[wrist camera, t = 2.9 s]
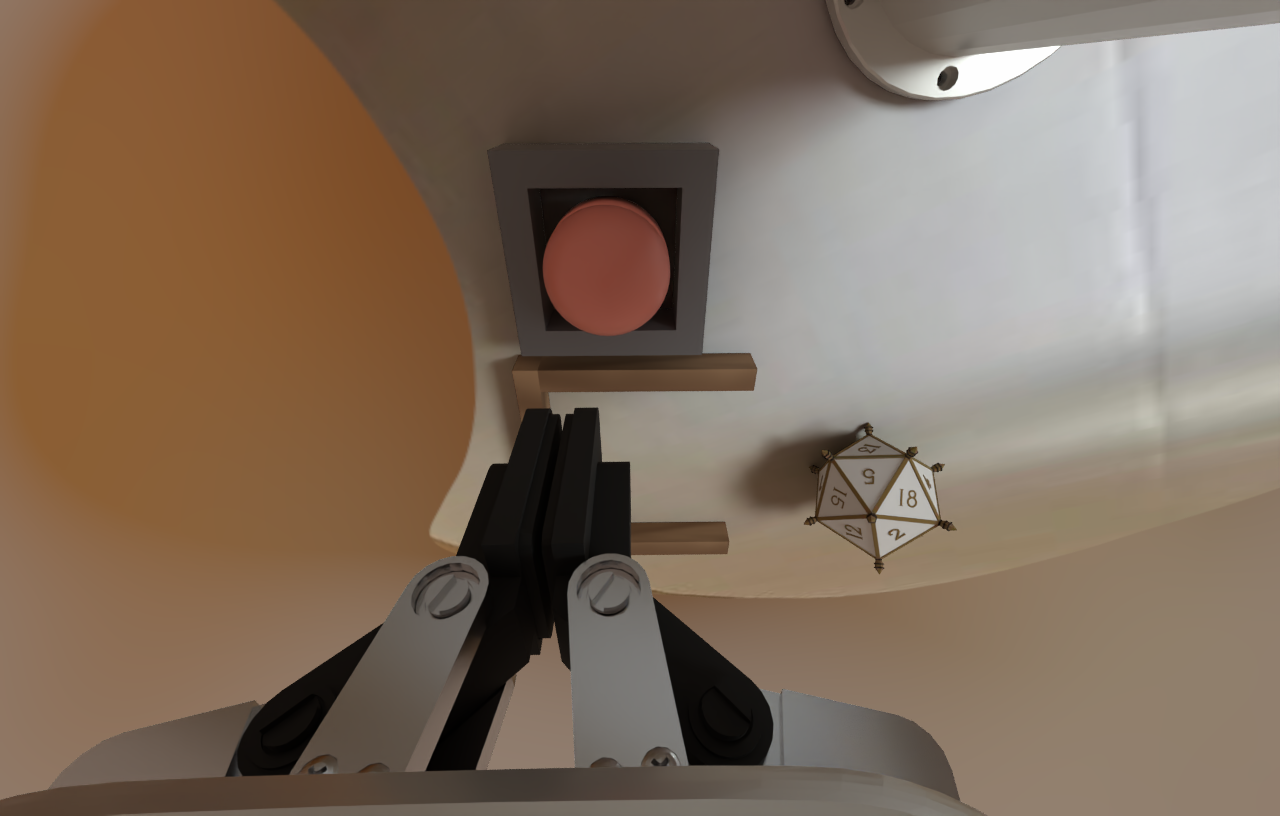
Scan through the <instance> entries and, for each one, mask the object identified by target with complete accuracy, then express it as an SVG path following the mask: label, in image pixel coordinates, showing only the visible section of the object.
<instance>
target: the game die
mask: <svg viewBox="0 0 1280 816" xmlns="http://www.w3.org/2000/svg"><path fill="white" fill-rule="evenodd" d="M864 428H865V432H866V436H864V437H863V438H861V439H859V440H858V441H856V442H854V443H853V444H851V445H850V446H848V447H846V448H845V449H843V450H841V451H840V452H838V453H837V454H835V455H833V456H832V453H831V452H829V450H822V456H823V457H825V458H826V459H827V460H828V459H829V460H828V461H827V462H826V463H825V464H824V465H823V467H822V468H821V469H819V468H818V467H816V466H814V465H813V466H811V467H809V468H810V469H811V472H812V473H813V472H814V473H815V474H816V473H818V484H817V498H816V511H815V517H810V518H807V519H806V521H805V523H804V525H810V526H811V525H812V524H815V522H816V521H818V522H819V523H821V524H823V525H824V526H826V527H827V528H829V529H830V530H832V531H833V532H835V533H836V534H838V535H839V536H841V537H843V538H844V539H846V540H847V541H849V542H850V543H852V544H853V545H855V546H856V547H858V548H860V549H861V550H863V551H864V552H866V553H867V554H869V555H870V556H872V557H873V558H875V559H876V561H875V563H874V564H875V567H874V568H875V569H876V570H877V571H878V573H879V574H880V573H881V572H882V570H883V569H884V568H883V565H884V564H883V563H882V559H883V558H885V557H886V556H888V555H890V554H891V553H893V552H895V551H897V550H898V549H900V548H902V547H903V546H905V545H907V544H908V543H910V542H912V541H914V540H915V539H917V538H919V537H920V536H922V535H924V534H925V533H927V532H929V531H931V530H932V529H934V528H936V527H937V526H939V525H940V526H941V527H942V528H943V529H947V531H950V530H957V529H956V528H955V527H954V526H953V524H952V522H951V523H950V522H948V521H942V520H941V517H940V511H939V504H938V498H937V492H936V485H935V479H934V473H933V472H939V471H942V468H943V467H944V465H945V464H939V463H937V464H935V465H933V466H932V467H929V466H927V465H925V464H924V463H922V462H920V461H919V460H917V459H915V458H914V456H915V455H916V454H917V453H918V451H917V447H909V448H908V450H906V451H907V453H905V452H903V451H901V450H899V449H897V448H895V447H894V446H892V445H890V444H888V443H886V442H884V441H882V440H881V439H879V438H877V437H875V436H873V435H872V432H873V430H872V428H873V427H872V426H871V425H870V424H869V423H868V424H867V425H866V427H864Z"/></svg>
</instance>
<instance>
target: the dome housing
mask: <svg viewBox="0 0 1280 816" xmlns="http://www.w3.org/2000/svg"><path fill="white" fill-rule="evenodd" d="M487 152H488V158H489V164H490V170H491V176H492V182H493V188H494V194H495V200H496V206H497V212H498V218H499V224H500V230H501V236H502V241H503V247H504V253H505V259H506V265H507V271H508V277H509V283H510V289H511V295H512V301H513V307H514V313H515V319H516V325H517V331H518V337H519V343H520V349H521V355H522V356H631V355H702V349H703V337H704V325H705V313H706V301H707V289H708V276H709V264H710V252H711V240H712V228H713V216H714V204H715V192H716V179H717V167H718V155H719V149H718V148H716V147H715V146H713V145H712V144H710V143H584V144H502V145H500V146H497V147H495V148H492V149H490V150H487ZM540 188H677V204H676V230H675V255H674V281H673V307H672V309H658V311H657V312H656V313H655V314H654V315H653V316H652V318H651V319H650V320H648V321H647V322H646V323H645V324H643V325H642V326H640V327H639V328H637V329H635V330H633V331H631V332H628V333H625V334H621V335H616V336H600V335H595V334H591V333H588V332H585V331H583V330H580V329H578V328H577V327H575V326H573V325H572V324H570V323H569V322H568V321H566V320H565V319H564V318H563V317H562V316H561V315H560V313H559V312H558V311H557V310H556V309H554V308H553V304H552V302H551V300H550V298H549V296H548V294H547V291H546V288H545V283H544V278H543V258H544V253H545V249H546V238H545V230H544V221H543V212H542V204H541V195H540Z"/></svg>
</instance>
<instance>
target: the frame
mask: <svg viewBox="0 0 1280 816" xmlns="http://www.w3.org/2000/svg"><path fill="white" fill-rule="evenodd" d="M512 374H513V379H514V385H515V390H516V396H517V401H518V406H519V412H520V417H521V423H522V420H523V417H524V414H525V411H526V409H531V408H550V402H549V395H548V392H623V391H754V386H755V380H756V374H757V367H756V365H755V363H754V361H753V358H752V356H751V354H750V353H717V354H702V355H631V356H522V355H519V356H518V358H517V360H516V363H515V365H514V367H513V370H512ZM728 547H729V538H728V533H727V528H726V524H725V522H670V523H631V555H679V554H727V553H728Z"/></svg>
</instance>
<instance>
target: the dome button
mask: <svg viewBox="0 0 1280 816" xmlns="http://www.w3.org/2000/svg"><path fill="white" fill-rule="evenodd" d="M543 278H544V283H545V288H546V291H547V294H548V296H549V298H550V300H551V302H552V304H553V305H554V307H555V308H556V310H557V311H558V312H559V313H560V315H561V316H562V317H563V318H564V319H565V320H566V321H568V322H569V323H570V324H572V325H573V326H575V327H577V328H578V329H580V330H583V331H585V332H588V333H591V334H595V335H600V336H616V335H621V334H625V333H628V332H631V331H633V330H635V329H637V328H639V327H640V326H642V325H643V324H645V323H646V322H647V321H648V320H650V319H651V318H652V316H653V315H654V314H655V313H656V312H657V311H658V309H659V308H660V306H661V304H662V302H663V301H664V298H665V296H666V293H667V291H668V286H669V282H670V261H669V255H668V250H667V245H666V241H665V238H664V235H663V233H662V231H661V228H660V227H659V225H658V224H657V222H656V221H655V219H654V218H653V217H652V216H651V215H650V214H649V213H648V212H647V211H646V210H645V209H643V208H642V207H641V206H639V205H638V204H636V203H634V202H632V201H630V200H627V199H624V198H620V197H615V196H598V197H594V198H590V199H587V200H584V201H582V202H580V203H578V204H577V205H575V206H574V207H572V208H571V209H570V210H569V211H568V212H567V213H566V214H565V215H564V216H563V217H562V219H561V220H560V221H559V223H558V224H557V226H556V228H555V230H554V231H553V233H552V235H551V237H550V239H549V241H548V244H547V246H546V249H545V253H544V258H543Z"/></svg>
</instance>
